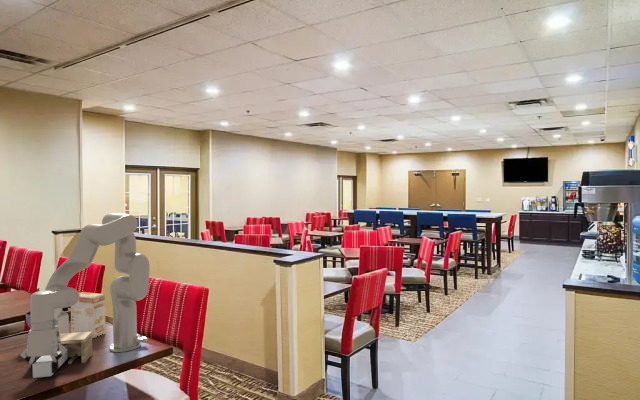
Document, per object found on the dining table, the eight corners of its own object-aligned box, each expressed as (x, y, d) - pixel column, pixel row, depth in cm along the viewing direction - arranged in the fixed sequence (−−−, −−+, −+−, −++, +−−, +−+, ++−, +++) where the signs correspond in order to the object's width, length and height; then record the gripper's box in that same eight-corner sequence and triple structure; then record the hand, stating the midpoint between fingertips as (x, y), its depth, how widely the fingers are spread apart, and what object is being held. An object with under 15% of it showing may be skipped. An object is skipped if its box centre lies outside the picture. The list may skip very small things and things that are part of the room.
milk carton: (56, 353, 178) (55, 310, 177) (42, 352, 179) (41, 309, 179) (69, 347, 185) (68, 305, 184) (55, 346, 186) (54, 304, 186)
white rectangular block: (67, 358, 169) (67, 346, 169) (51, 376, 154) (50, 362, 153) (51, 359, 168) (50, 347, 168) (32, 377, 152) (32, 364, 152)
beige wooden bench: (92, 353, 178) (91, 331, 177) (84, 362, 169) (84, 339, 168) (40, 358, 174) (39, 335, 173) (29, 367, 165) (29, 343, 164)
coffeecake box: (106, 333, 202) (105, 293, 202) (93, 338, 196) (92, 297, 195) (83, 329, 208) (82, 291, 207) (70, 334, 201) (69, 294, 201)
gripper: (72, 319, 160) (73, 365, 161) (22, 323, 156) (23, 370, 157) (65, 326, 153) (66, 374, 153) (11, 330, 149) (13, 379, 150)
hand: (44, 371), depth 155 cm, fingers closed on white rectangular block, 5 cm apart
